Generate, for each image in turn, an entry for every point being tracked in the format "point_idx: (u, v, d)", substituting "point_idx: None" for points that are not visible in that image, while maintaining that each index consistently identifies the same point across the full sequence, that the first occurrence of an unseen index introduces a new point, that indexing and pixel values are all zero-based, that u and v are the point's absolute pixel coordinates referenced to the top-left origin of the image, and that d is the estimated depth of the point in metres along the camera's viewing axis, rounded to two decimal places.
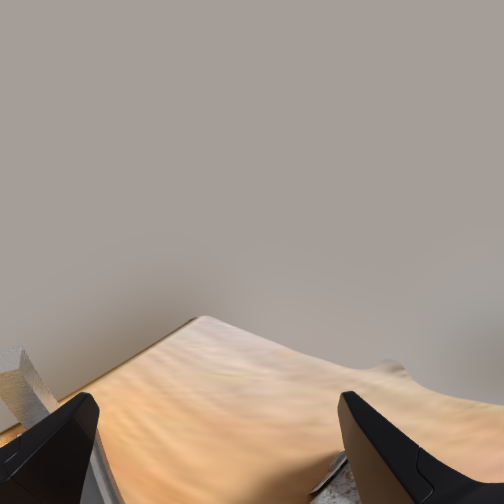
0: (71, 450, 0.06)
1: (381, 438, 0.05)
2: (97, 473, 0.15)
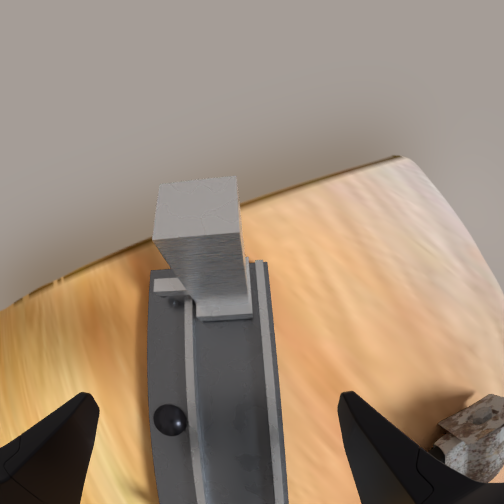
0: (71, 450, 0.06)
1: (381, 438, 0.05)
2: (267, 349, 0.19)
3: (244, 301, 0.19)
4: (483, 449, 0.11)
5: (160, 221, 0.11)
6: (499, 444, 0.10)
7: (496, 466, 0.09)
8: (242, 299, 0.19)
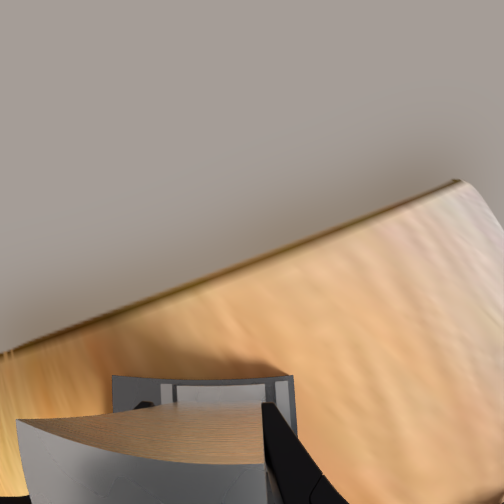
0: None
1: (282, 457, 0.05)
2: None
3: None
4: None
5: None
6: None
7: None
8: None
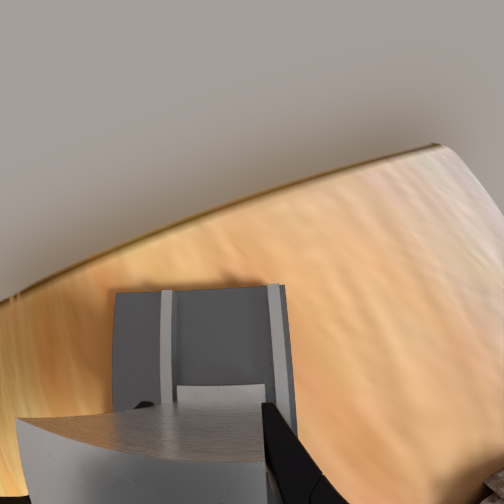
0: None
1: (282, 457, 0.05)
2: None
3: None
4: None
5: None
6: None
7: None
8: None
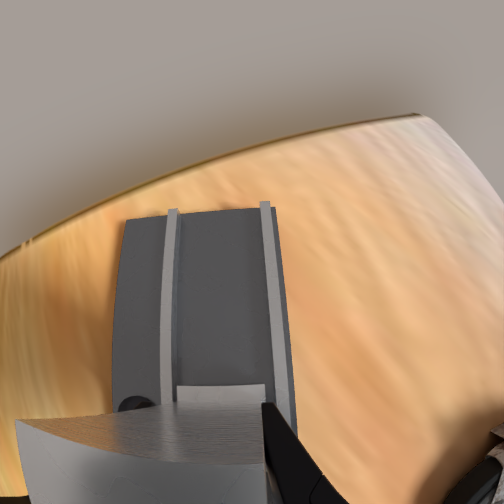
0: None
1: (282, 457, 0.05)
2: (277, 319, 0.13)
3: None
4: None
5: None
6: None
7: None
8: None
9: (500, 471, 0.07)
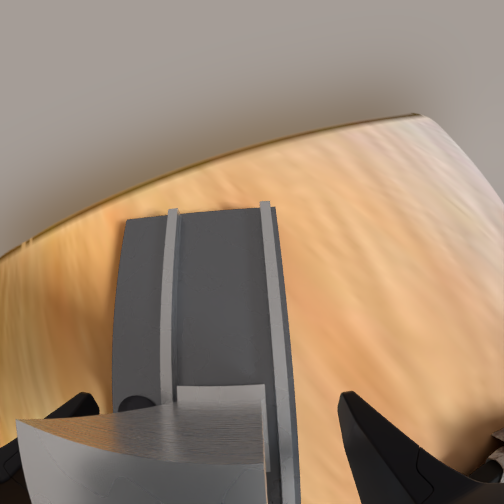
0: None
1: (381, 438, 0.05)
2: (276, 319, 0.14)
3: None
4: None
5: None
6: None
7: None
8: None
9: (501, 474, 0.07)
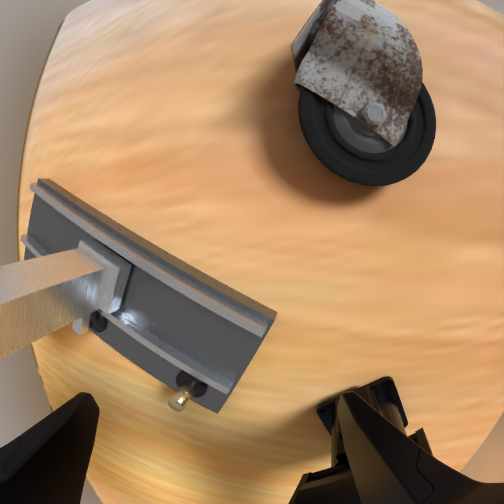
0: (71, 450, 0.06)
1: (381, 438, 0.05)
2: (66, 212, 0.19)
3: (104, 272, 0.17)
4: (344, 42, 0.10)
5: None
6: (360, 22, 0.09)
7: (404, 52, 0.09)
8: (99, 274, 0.16)
9: (304, 88, 0.13)
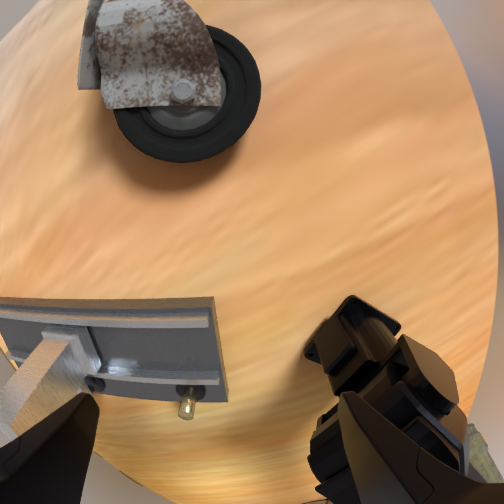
0: (71, 450, 0.06)
1: (381, 438, 0.05)
2: (21, 317, 0.18)
3: (69, 346, 0.17)
4: (121, 49, 0.10)
5: None
6: (124, 22, 0.08)
7: (178, 18, 0.09)
8: (67, 350, 0.17)
9: (114, 109, 0.12)
